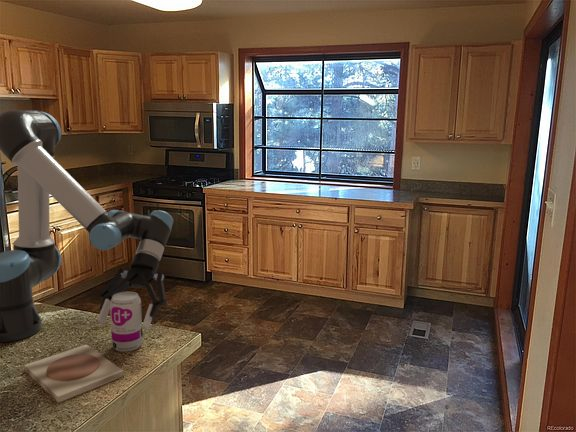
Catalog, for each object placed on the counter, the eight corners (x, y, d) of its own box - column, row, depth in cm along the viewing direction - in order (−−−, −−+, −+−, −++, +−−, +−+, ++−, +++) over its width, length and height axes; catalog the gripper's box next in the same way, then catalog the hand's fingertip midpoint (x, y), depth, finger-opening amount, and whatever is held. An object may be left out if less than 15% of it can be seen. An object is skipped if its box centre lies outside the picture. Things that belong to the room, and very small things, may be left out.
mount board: (24, 370, 121) (24, 362, 121) (86, 349, 133) (86, 342, 133) (58, 402, 108) (57, 394, 108) (123, 376, 120) (123, 368, 119)
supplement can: (133, 354, 131) (131, 302, 128) (106, 350, 133) (103, 299, 130) (147, 341, 139) (146, 292, 136) (121, 338, 140) (119, 289, 137)
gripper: (190, 267, 144) (169, 335, 133) (115, 260, 149) (88, 325, 138) (182, 255, 138) (159, 325, 127) (104, 248, 143) (75, 314, 132)
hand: (122, 325), depth 132 cm, fingers open, 13 cm apart
